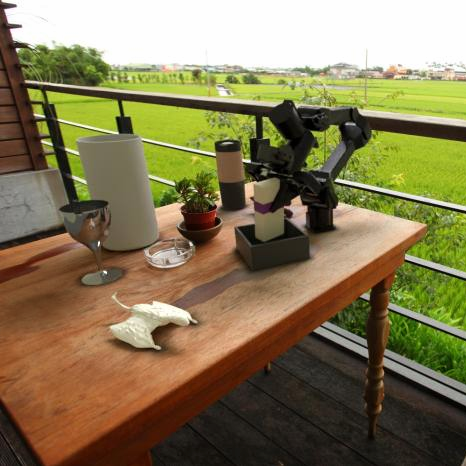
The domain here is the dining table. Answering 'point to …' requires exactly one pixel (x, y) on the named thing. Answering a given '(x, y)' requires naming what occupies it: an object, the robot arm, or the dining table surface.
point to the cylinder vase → (121, 187)
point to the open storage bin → (272, 246)
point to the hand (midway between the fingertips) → (264, 210)
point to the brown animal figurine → (286, 211)
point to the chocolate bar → (267, 210)
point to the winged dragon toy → (147, 322)
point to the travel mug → (230, 174)
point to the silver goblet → (90, 233)
